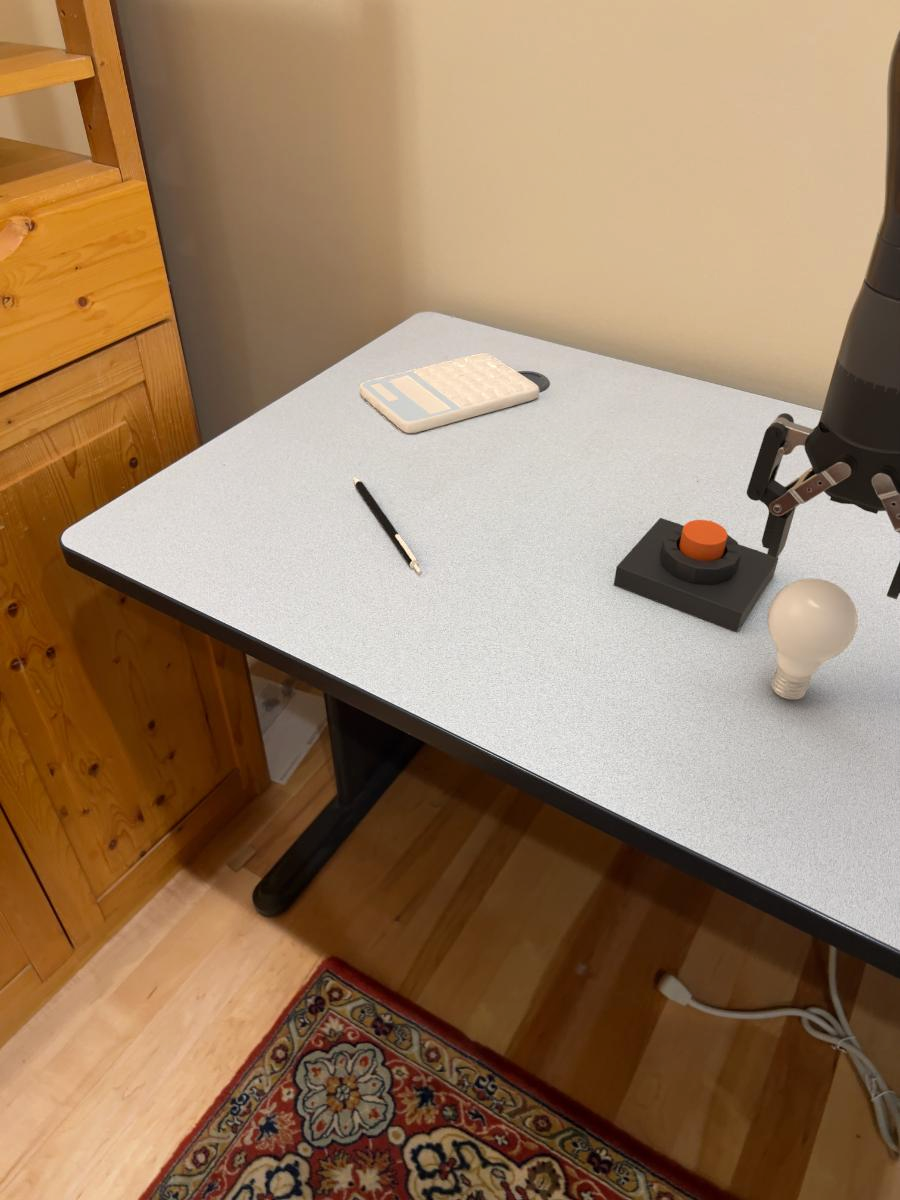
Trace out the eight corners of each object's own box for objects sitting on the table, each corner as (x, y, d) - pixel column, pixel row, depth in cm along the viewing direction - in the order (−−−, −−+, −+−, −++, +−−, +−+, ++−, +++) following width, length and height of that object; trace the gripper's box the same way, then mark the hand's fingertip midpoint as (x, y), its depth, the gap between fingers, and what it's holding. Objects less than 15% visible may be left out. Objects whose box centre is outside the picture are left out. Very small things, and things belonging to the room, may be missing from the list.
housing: (773, 576, 84) (783, 541, 82) (736, 632, 78) (746, 597, 75) (656, 535, 89) (663, 502, 87) (613, 585, 83) (618, 550, 80)
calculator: (542, 399, 113) (543, 385, 112) (406, 437, 105) (406, 422, 104) (485, 361, 122) (486, 348, 121) (356, 394, 114) (355, 380, 113)
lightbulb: (835, 685, 73) (877, 579, 66) (815, 733, 68) (857, 626, 62) (759, 657, 75) (792, 552, 68) (735, 701, 71) (767, 595, 64)
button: (729, 546, 82) (734, 528, 81) (713, 567, 79) (718, 549, 78) (688, 532, 84) (692, 514, 82) (672, 553, 81) (675, 534, 80)
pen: (415, 577, 84) (415, 568, 83) (350, 481, 97) (349, 472, 97) (424, 575, 84) (424, 565, 83) (357, 479, 98) (357, 471, 97)
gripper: (769, 354, 55) (720, 564, 65) (1023, 412, 49) (925, 635, 59) (806, 318, 60) (755, 518, 70) (1041, 366, 54) (948, 579, 64)
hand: (833, 572), depth 64 cm, fingers open, 8 cm apart
